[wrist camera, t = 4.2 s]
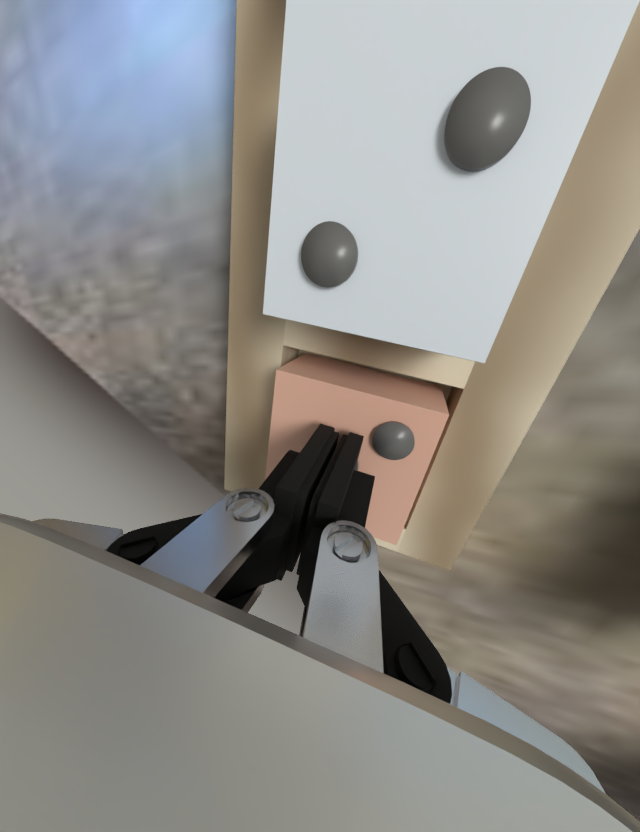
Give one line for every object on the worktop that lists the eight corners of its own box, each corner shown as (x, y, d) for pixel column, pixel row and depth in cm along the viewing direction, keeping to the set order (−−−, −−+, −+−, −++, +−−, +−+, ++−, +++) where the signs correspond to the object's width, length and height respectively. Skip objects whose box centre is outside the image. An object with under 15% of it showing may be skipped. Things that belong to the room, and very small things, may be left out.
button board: (991, -598, 5) (1694, -1681, 2) (444, 525, 16) (450, 570, 13) (315, -400, 7) (257, -810, 4) (251, 461, 18) (224, 489, 16)
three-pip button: (441, 385, 12) (449, 416, 9) (400, 496, 15) (396, 549, 12) (305, 352, 13) (273, 370, 10) (290, 460, 16) (261, 500, 13)
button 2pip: (555, 106, 7) (654, -25, 4) (464, 342, 10) (486, 365, 7) (329, 93, 8) (282, -17, 5) (301, 308, 11) (259, 314, 8)
